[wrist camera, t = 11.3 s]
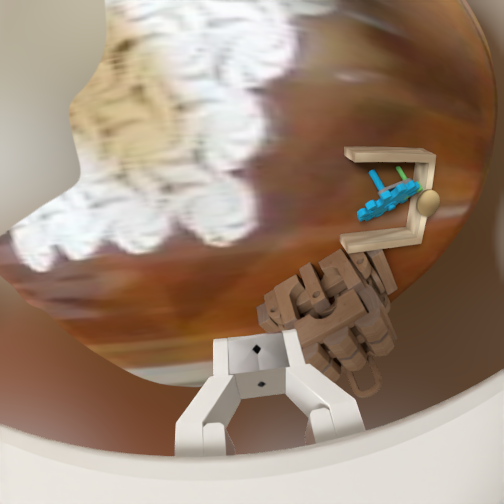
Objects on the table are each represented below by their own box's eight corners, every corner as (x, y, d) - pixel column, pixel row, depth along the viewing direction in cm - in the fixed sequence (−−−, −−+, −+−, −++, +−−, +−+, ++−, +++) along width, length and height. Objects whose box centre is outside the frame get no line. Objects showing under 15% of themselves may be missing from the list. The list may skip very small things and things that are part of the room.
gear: (352, 232, 40) (375, 207, 30) (334, 196, 41) (350, 163, 32) (409, 207, 40) (439, 180, 30) (391, 175, 42) (416, 142, 32)
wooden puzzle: (366, 226, 42) (431, 308, 26) (391, 284, 49) (440, 360, 33) (247, 298, 47) (260, 399, 31) (290, 341, 54) (311, 427, 38)
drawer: (344, 146, 35) (357, 154, 31) (429, 148, 35) (446, 156, 32) (339, 241, 42) (349, 256, 39) (416, 232, 43) (430, 245, 39)
